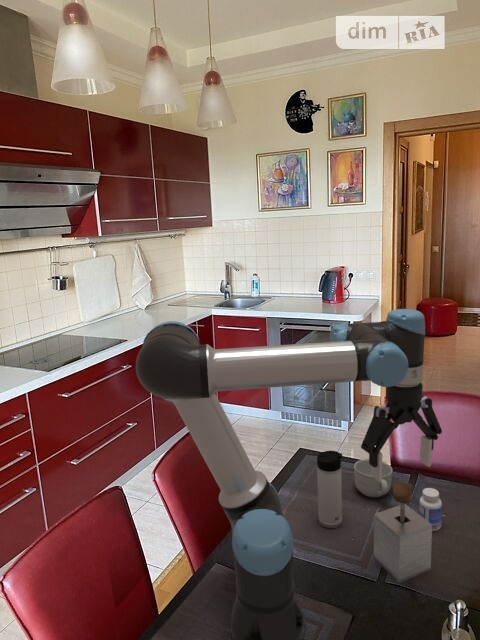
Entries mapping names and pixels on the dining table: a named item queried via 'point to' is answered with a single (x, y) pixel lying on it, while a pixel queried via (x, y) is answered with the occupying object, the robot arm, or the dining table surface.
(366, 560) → the dining table surface
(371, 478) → the teacup
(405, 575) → the grey block with hole
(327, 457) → the travel mug
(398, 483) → the plunger
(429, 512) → the pill bottle
